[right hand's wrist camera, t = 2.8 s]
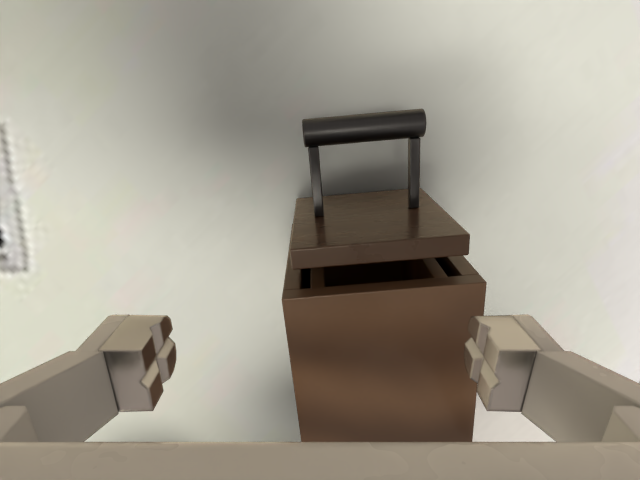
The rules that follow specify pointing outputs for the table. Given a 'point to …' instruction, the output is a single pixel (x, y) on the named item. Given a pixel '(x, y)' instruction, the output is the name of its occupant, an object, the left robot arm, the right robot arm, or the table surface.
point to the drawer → (371, 213)
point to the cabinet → (383, 356)
